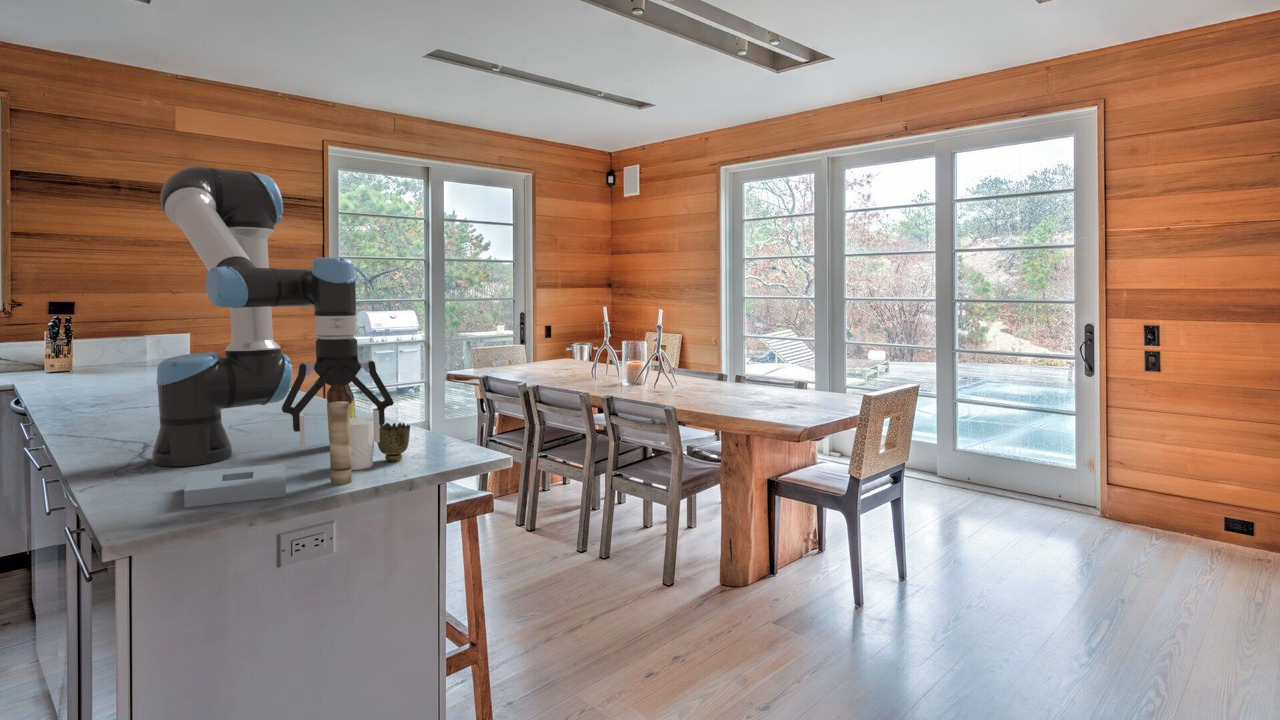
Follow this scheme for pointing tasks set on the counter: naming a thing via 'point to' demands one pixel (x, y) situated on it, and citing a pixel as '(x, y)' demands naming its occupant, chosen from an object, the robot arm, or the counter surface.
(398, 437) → the cup
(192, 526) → the counter surface
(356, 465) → the white cup
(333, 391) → the sauce bottle
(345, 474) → the dowel
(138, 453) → the counter surface
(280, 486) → the block
